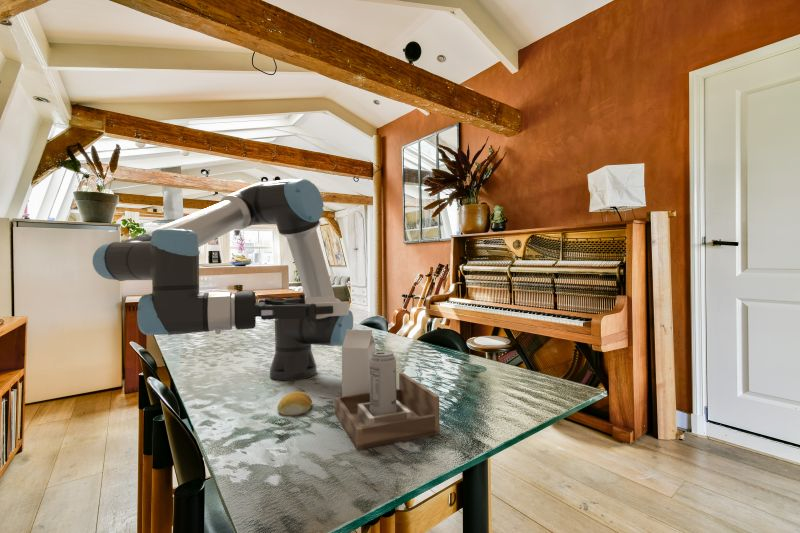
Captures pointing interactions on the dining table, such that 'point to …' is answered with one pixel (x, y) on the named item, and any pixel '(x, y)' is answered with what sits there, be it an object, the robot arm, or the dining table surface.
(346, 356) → the milk carton
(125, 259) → the robot arm
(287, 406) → the bread roll
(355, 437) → the walled box
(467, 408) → the dining table surface
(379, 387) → the energy drink can
